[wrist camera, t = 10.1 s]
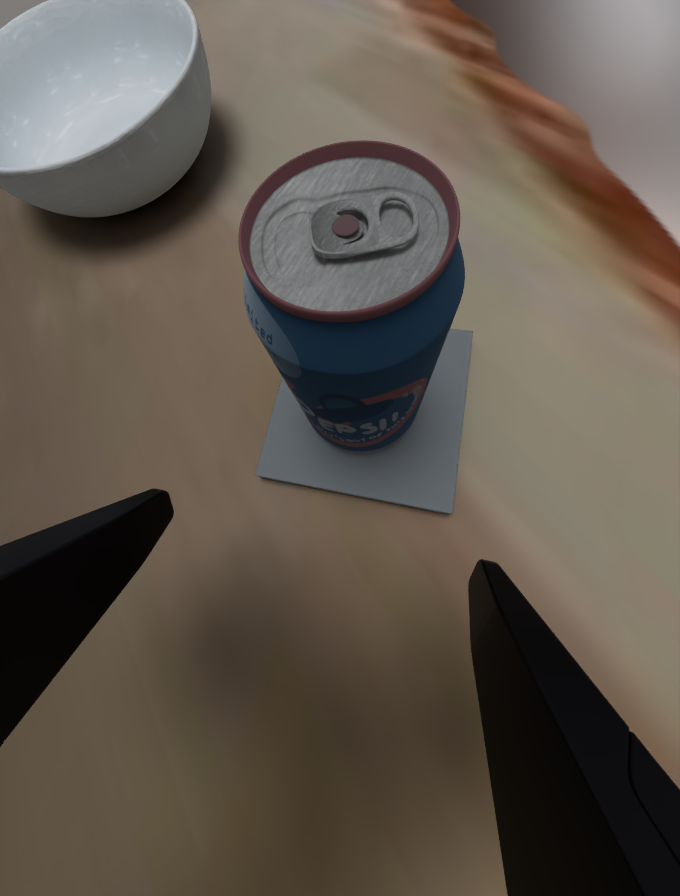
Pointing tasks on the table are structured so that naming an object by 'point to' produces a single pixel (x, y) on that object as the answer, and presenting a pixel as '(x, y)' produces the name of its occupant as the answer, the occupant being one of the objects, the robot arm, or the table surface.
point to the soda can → (354, 283)
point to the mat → (388, 468)
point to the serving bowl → (101, 103)
